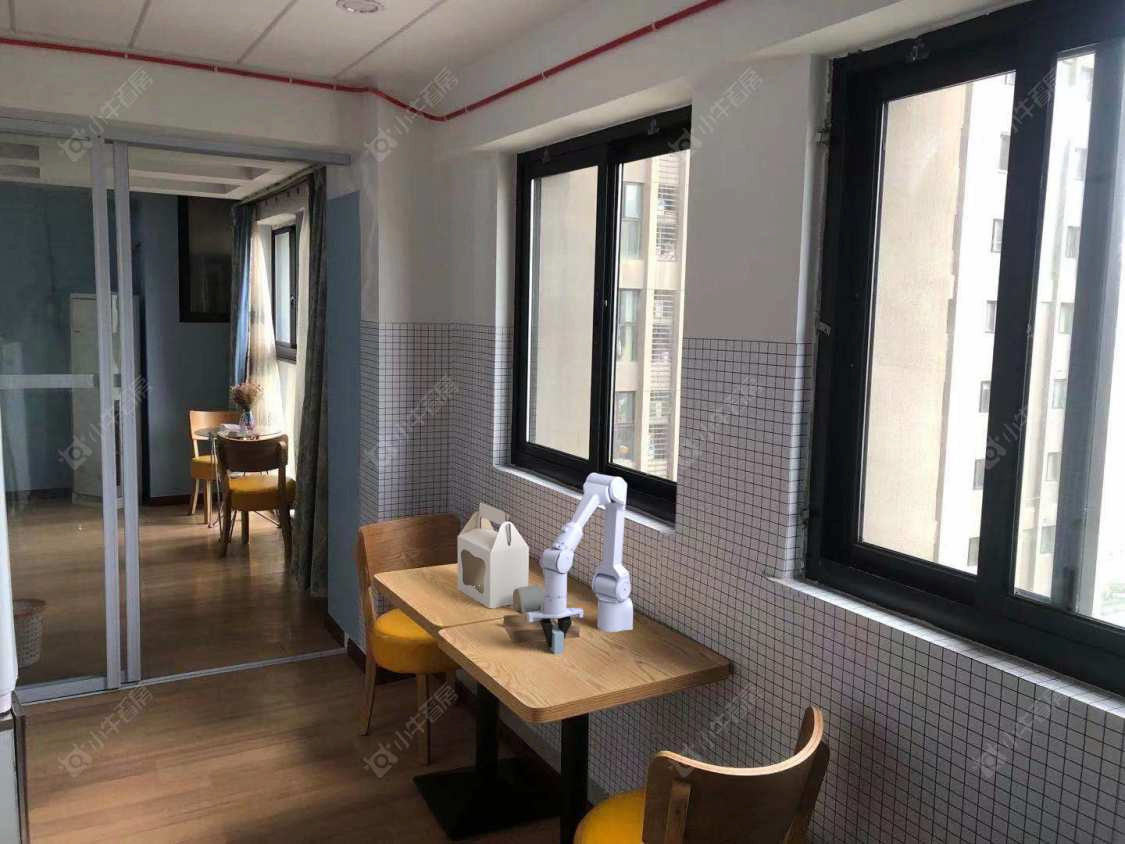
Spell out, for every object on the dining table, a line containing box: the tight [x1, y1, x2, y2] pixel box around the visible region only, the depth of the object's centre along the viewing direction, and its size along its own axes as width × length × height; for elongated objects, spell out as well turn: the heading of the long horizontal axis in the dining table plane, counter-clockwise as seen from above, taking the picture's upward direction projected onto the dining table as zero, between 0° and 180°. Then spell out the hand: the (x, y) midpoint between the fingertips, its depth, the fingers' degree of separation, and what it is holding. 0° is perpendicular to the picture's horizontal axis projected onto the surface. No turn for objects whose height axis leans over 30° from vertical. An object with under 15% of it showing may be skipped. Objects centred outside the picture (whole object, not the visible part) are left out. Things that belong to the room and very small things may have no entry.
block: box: [545, 623, 565, 655], centre depth 235 cm, size 2×8×6 cm, turn 18°
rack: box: [503, 613, 581, 644], centre depth 248 cm, size 18×13×4 cm
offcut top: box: [552, 619, 574, 627], centre depth 249 cm, size 4×6×2 cm
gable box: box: [457, 501, 530, 609], centre depth 279 cm, size 22×13×28 cm, turn 32°
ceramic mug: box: [513, 584, 545, 614], centre depth 265 cm, size 11×8×8 cm
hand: (554, 645), depth 235 cm, fingers closed on block, 2 cm apart
